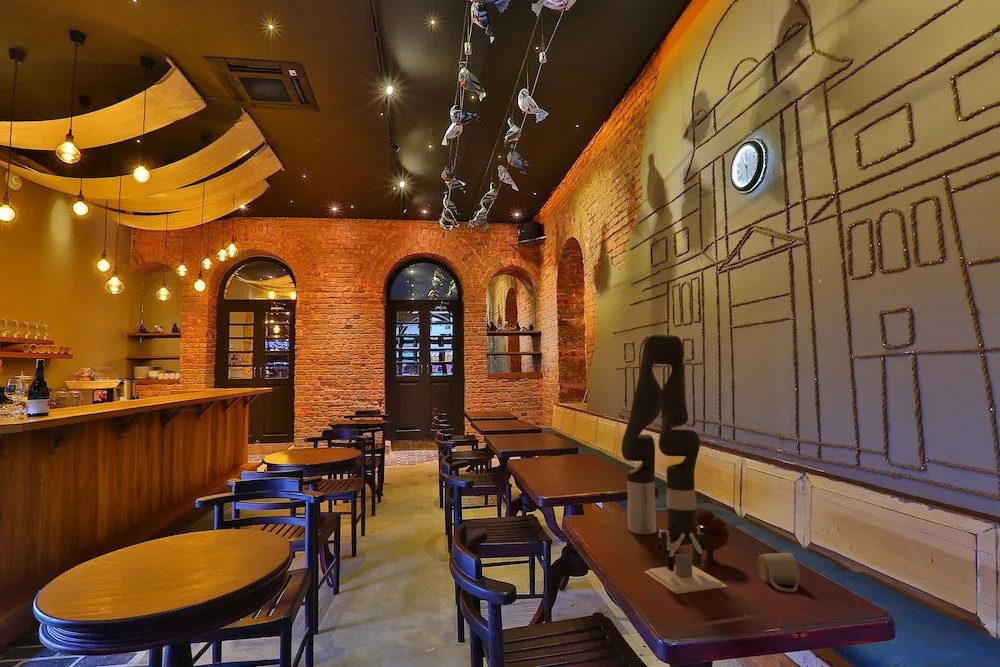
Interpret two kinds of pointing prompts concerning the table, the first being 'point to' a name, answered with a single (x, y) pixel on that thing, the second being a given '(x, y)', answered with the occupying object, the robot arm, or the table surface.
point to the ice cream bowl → (712, 534)
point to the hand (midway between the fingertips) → (683, 568)
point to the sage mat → (684, 590)
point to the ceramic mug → (779, 570)
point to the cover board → (685, 582)
